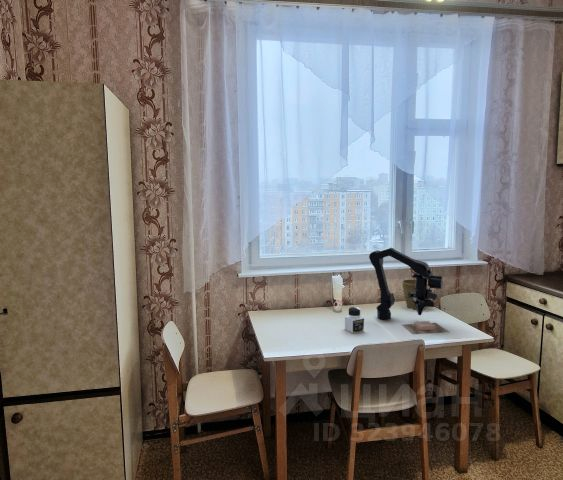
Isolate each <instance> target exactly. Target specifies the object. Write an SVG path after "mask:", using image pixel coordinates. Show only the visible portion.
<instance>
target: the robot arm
mask: <svg viewBox="0 0 563 480" xmlns="http://www.w3.org/2000/svg"><path fill="white" fill-rule="evenodd" d="M387 257H391V258H393V259H394V260H397V261H398V262H400V263H402V264H405V266H408V267H409V268H410V269H411V270H413V271H414V274H413V275H412V276H411V277H412V279H413V278H414V279H415V280H416V287H414V290H415V292H409V293H408V298H411V297H413V298H414V301H412V302H413V303H414V305H415V308H416V309H415V310H416V312H417V315H418V316H422V314H423V311H424V310H425V308H434V307H435V302H434V301H436V300H437V297H438V294H436V292H433V291H432V289H437V290H442V289H443V286H444V280H443V275H436V274H433V272H432V271H431V270H430V267H429V266H430V265H429V264H428V263H427V262H425V261H422V260H419V259H414V258H412V257H410V256H408V255H406V254H404V253H402V252H400V251H399V250H397V249H395V248H393V247H388V248H387V249H383V250H373V251H372V252H370V253H369V255H368V258H369V261H370V263H371V265H372V266H373V268H374V271H375V274H376V279H377V283H378V286H379V291H380V298H379V299H380V304H379V305H377V306H376V310H377V312H376V314H377V315H376V318H377V319H378V320H380V321H389V320H391V318H392V312H391V308H392V306H393V305H394V304H395V301H396V299H395V295H394V293H393V292H392V293H391V291H390V289H389V285H388V282H387V277H386V274H385V269H384V259H385V258H387ZM427 283H428V286H427ZM428 287H429V288H428ZM430 288H431V289H430Z"/></svg>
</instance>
